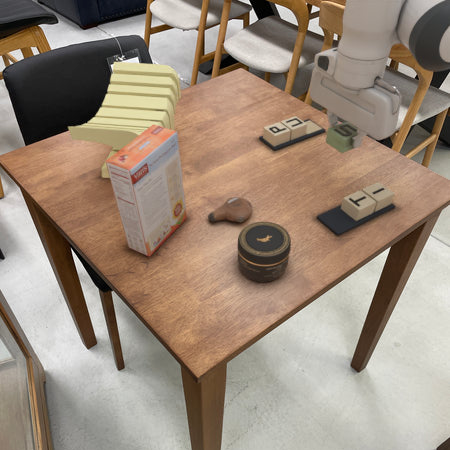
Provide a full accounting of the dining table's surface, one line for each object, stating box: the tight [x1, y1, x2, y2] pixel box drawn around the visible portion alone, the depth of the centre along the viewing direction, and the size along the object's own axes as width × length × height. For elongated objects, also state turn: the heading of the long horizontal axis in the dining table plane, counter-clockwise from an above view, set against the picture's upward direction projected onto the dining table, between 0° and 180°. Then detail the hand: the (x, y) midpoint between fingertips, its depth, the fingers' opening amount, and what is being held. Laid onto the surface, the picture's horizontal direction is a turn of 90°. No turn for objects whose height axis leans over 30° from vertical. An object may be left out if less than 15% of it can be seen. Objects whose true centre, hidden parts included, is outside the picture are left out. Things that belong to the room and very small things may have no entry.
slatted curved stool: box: [67, 61, 182, 179], centre depth 102 cm, size 30×16×18 cm, turn 172°
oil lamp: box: [207, 196, 253, 223], centre depth 95 cm, size 9×4×8 cm
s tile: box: [325, 121, 359, 154], centre depth 88 cm, size 5×5×3 cm
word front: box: [315, 181, 396, 237], centre depth 95 cm, size 17×7×4 cm, turn 123°
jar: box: [236, 221, 292, 283], centre depth 84 cm, size 10×10×8 cm
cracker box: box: [105, 124, 188, 258], centre depth 85 cm, size 14×6×21 cm, turn 149°
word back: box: [258, 115, 326, 152], centre depth 116 cm, size 17×7×4 cm, turn 123°
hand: (343, 138), depth 88 cm, fingers closed on s tile, 5 cm apart
